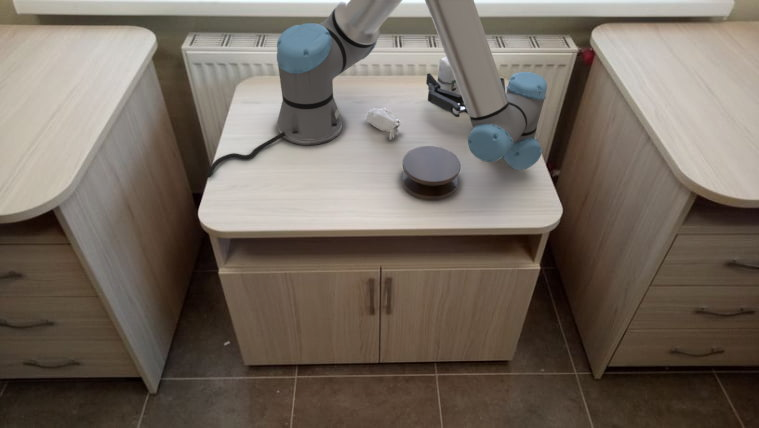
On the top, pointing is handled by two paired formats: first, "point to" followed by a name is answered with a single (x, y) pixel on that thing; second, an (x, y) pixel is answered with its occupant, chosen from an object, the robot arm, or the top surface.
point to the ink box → (447, 77)
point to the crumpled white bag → (383, 120)
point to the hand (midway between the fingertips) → (452, 74)
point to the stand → (430, 173)
